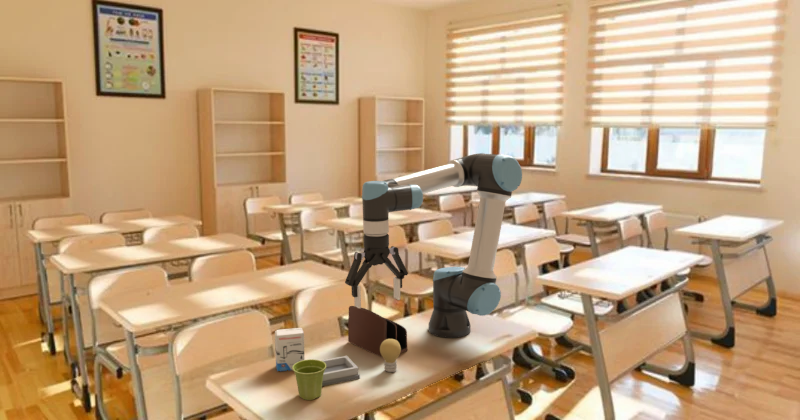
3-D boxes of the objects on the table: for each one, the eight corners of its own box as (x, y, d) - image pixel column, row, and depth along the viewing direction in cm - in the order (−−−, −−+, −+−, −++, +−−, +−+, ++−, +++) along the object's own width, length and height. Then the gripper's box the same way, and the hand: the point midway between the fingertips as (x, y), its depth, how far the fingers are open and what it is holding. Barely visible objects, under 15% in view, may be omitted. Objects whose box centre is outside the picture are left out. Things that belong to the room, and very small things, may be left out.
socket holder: (346, 363, 190) (345, 354, 189) (359, 378, 179) (359, 368, 179) (305, 371, 184) (305, 361, 184) (317, 387, 174) (317, 377, 173)
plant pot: (328, 387, 174) (327, 358, 172) (325, 402, 164) (324, 372, 163) (296, 388, 173) (294, 359, 172) (291, 403, 164) (290, 373, 163)
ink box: (277, 372, 184) (275, 335, 182) (275, 365, 189) (274, 329, 187) (305, 368, 186) (304, 332, 184) (303, 362, 191) (302, 327, 189)
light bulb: (398, 375, 181) (398, 344, 179) (378, 374, 182) (377, 342, 180) (402, 367, 187) (402, 336, 185) (382, 365, 188) (382, 335, 186)
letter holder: (385, 359, 193) (384, 317, 191) (347, 342, 208) (346, 303, 205) (407, 351, 200) (407, 310, 197) (370, 335, 214) (369, 297, 212)
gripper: (405, 226, 187) (406, 292, 191) (332, 236, 174) (334, 307, 178) (418, 230, 181) (419, 298, 184) (343, 241, 168) (346, 314, 172)
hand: (377, 302), depth 181 cm, fingers open, 13 cm apart
